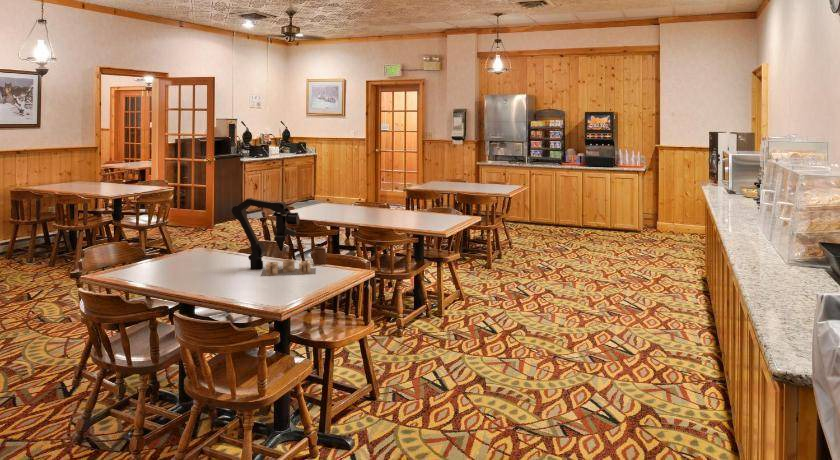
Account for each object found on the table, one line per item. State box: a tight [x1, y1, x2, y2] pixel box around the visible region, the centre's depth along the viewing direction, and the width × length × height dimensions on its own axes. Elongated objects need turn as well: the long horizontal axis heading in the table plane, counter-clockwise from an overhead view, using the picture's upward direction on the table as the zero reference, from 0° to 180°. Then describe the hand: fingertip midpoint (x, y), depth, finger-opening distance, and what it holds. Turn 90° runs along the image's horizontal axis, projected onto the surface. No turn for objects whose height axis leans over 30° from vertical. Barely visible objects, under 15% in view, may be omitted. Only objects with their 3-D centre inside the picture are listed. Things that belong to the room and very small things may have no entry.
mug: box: [310, 247, 327, 266], centre depth 364 cm, size 12×8×9 cm, turn 153°
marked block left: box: [265, 261, 279, 275], centre depth 339 cm, size 6×6×6 cm
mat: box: [260, 267, 317, 277], centre depth 344 cm, size 30×16×1 cm, turn 99°
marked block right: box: [298, 260, 311, 275], centre depth 342 cm, size 6×6×6 cm
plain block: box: [282, 258, 296, 272], centre depth 346 cm, size 6×6×6 cm
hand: (281, 250), depth 350 cm, fingers closed
